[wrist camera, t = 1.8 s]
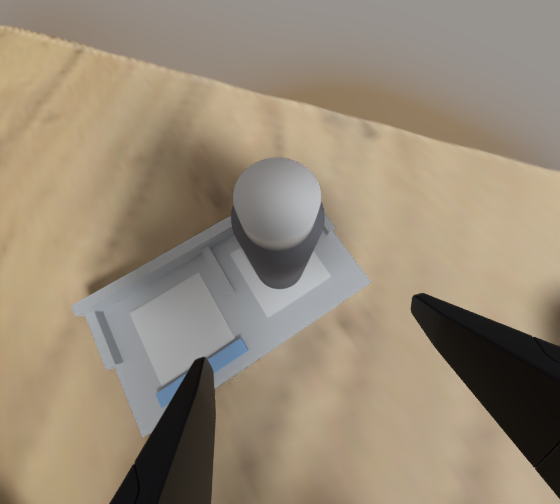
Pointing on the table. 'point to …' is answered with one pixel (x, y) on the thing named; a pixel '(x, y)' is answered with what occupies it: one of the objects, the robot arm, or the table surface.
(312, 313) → the white tray
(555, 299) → the table surface
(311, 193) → the grey upright cylinder
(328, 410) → the table surface
